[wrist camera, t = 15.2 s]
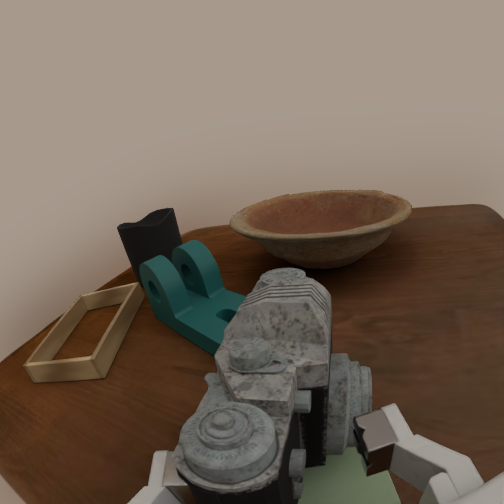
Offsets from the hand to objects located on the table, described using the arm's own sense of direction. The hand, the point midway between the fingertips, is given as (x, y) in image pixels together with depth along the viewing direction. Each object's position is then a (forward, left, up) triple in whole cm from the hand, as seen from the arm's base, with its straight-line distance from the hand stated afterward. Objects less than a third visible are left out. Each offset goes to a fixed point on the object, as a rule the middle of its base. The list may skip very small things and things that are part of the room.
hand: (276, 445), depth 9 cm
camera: (+1, +4, -7) cm, 8 cm away
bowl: (+10, +33, -8) cm, 36 cm away
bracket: (-5, +22, -8) cm, 24 cm away
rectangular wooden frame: (-22, +25, -8) cm, 34 cm away
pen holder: (-15, +41, -8) cm, 44 cm away
